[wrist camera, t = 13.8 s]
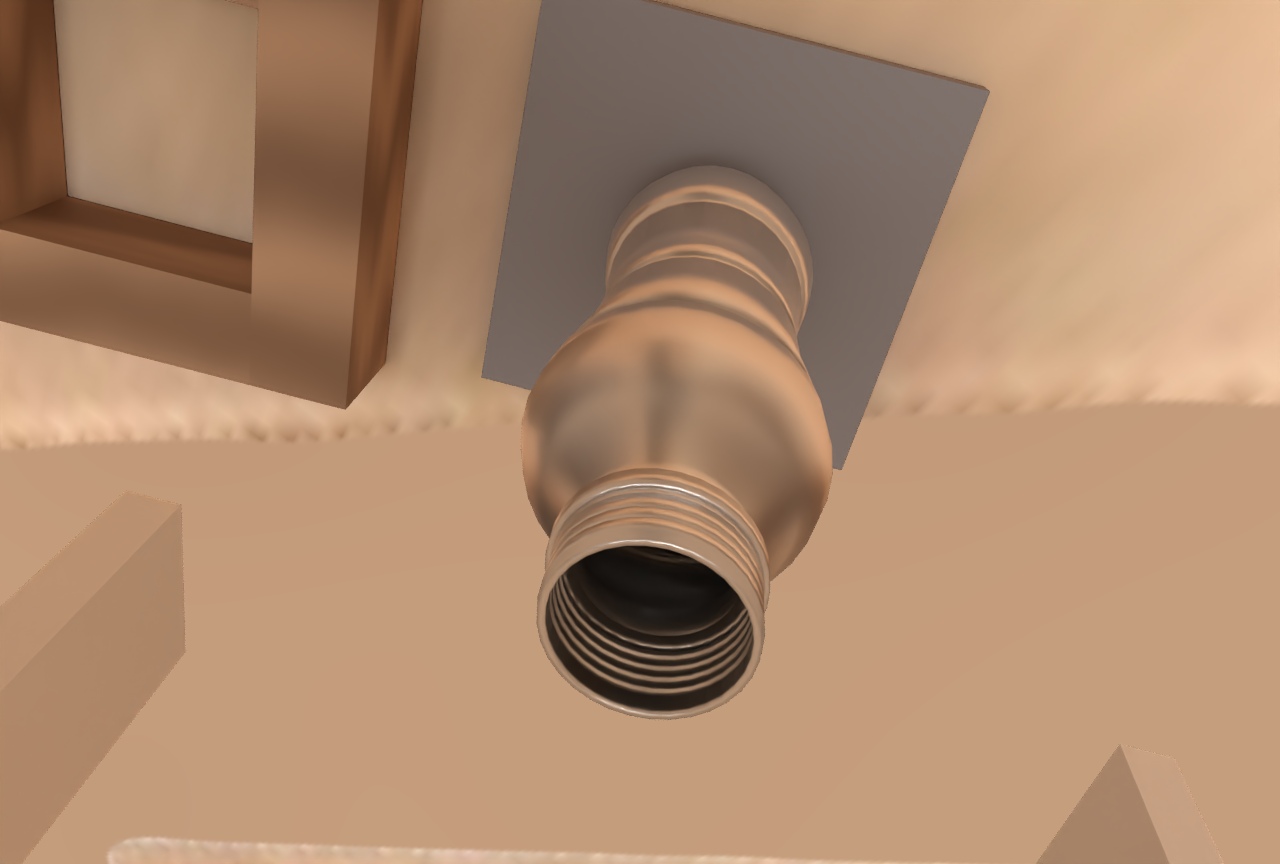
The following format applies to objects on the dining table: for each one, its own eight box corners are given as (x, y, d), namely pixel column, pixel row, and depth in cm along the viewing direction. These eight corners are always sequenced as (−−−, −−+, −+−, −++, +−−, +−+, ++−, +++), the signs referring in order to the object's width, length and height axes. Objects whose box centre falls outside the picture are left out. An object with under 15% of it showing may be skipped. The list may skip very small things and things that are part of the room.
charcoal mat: (552, -26, 30) (545, -25, 29) (983, 86, 30) (990, 91, 29) (488, 366, 37) (481, 377, 36) (839, 457, 37) (841, 470, 36)
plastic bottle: (685, 370, 35) (603, 831, 17) (579, 214, 32) (358, 562, 15) (845, 282, 32) (938, 708, 15) (743, 108, 30) (710, 369, 13)
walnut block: (-73, -226, 29) (-187, -246, 26) (432, -94, 29) (386, -96, 26) (-14, 260, 37) (-96, 296, 33) (385, 363, 37) (345, 409, 34)
